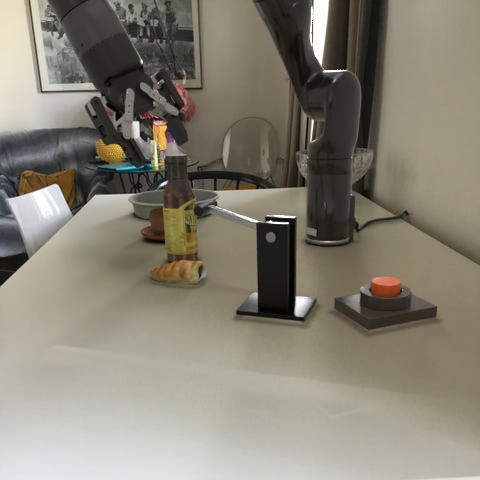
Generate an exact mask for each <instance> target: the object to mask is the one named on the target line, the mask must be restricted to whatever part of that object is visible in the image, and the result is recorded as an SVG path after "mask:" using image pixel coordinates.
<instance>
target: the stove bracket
mask: <svg viewBox="0 0 480 480" xmlns="http://www.w3.org/2000/svg"><path fill="white" fill-rule="evenodd" d="M271 220H275V221H278V222H269V221H271ZM257 221H258V222H257V223H256V232H255V233H256V273H257V274H256V275H257V276H256V280H257V282H256V283H257V292H256V291H255V292H252V294H250V295H249V296H248V298H246V300H244V302H243V303H241V305H240V306H239V307H238V308H237V309H236V310H235V315H236V316H237V315H238V316H248V317H257V318H266V319H274V320H285V321H295V322H302V323H303V322H306V320H307V318H308V316H309V315H310V313H311V311H312V310H313V309H314V307H315V306H316V304H317V301H318V297H307V296H297V242H298V241H297V234H298V233H297V231H298V230H297V229H298V228H297V227H298V226H297V225H298V224H297V223H298V222H297V221H298V217H297V216H295V215H273V214H272V215H271V214H267V215H265V216H264V221H261V220H257ZM289 225H290V229H289Z"/></svg>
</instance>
